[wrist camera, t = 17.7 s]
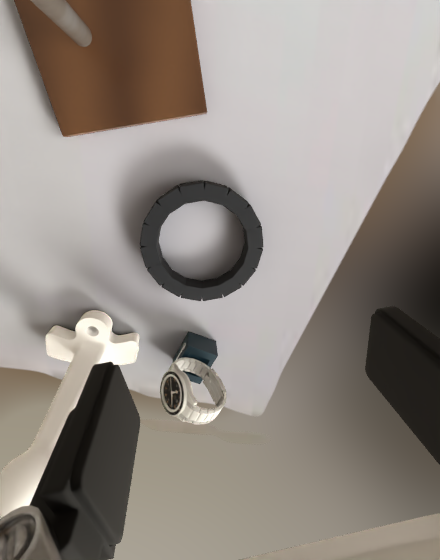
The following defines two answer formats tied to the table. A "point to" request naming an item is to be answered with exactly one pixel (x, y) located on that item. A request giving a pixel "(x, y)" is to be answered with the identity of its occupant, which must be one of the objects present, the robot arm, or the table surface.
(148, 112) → the stand
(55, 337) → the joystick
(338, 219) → the table surface
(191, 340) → the watch
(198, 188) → the ring
